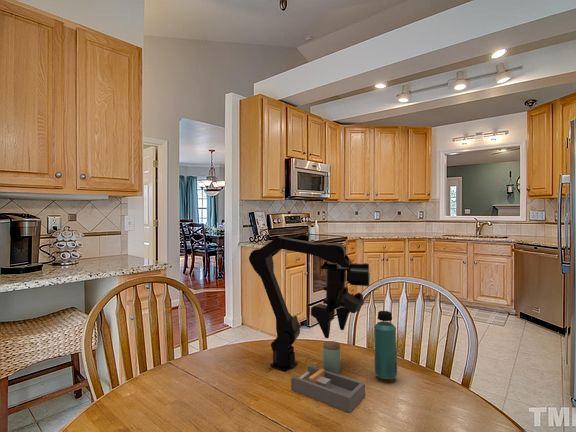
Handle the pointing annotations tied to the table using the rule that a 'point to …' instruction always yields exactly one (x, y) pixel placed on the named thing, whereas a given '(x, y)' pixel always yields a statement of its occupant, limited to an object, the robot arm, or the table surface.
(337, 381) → the gray rectangular tray
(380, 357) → the beverage bottle
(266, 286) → the robot arm
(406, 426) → the table surface
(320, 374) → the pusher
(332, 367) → the jar
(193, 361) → the table surface
